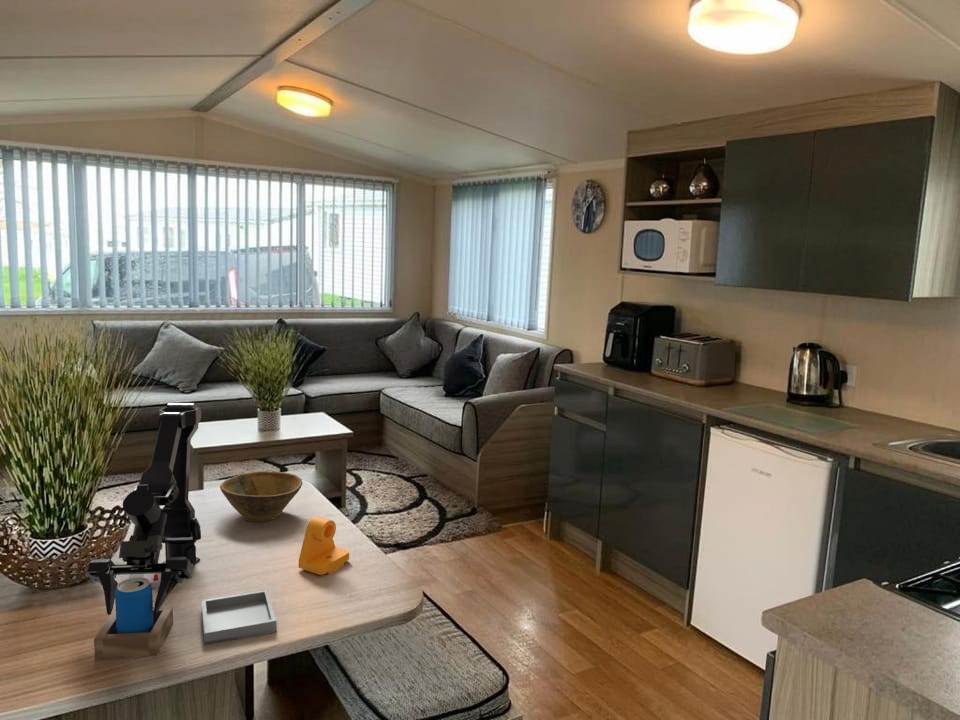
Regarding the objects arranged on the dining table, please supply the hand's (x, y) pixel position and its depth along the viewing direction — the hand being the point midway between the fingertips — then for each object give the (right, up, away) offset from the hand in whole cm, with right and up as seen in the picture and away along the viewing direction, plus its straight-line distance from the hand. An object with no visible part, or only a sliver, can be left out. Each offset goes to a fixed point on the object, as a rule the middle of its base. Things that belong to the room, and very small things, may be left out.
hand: (132, 613), depth 133 cm
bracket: (+29, -2, +37) cm, 47 cm away
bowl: (+4, +4, +66) cm, 67 cm away
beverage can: (0, -7, +2) cm, 7 cm away
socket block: (0, -6, +2) cm, 7 cm away
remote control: (-9, -3, +26) cm, 28 cm away
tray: (+17, -6, +11) cm, 21 cm away
